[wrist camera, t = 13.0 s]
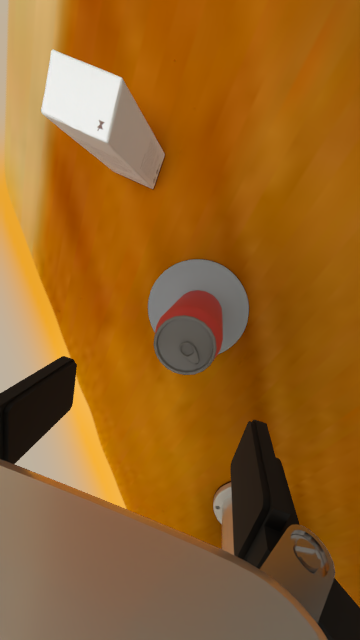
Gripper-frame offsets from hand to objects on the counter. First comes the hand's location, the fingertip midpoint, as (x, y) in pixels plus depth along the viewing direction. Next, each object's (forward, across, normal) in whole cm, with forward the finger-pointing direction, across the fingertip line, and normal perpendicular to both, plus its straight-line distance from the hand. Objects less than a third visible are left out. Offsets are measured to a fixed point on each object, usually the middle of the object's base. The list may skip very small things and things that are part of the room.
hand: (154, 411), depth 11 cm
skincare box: (+21, +12, -17) cm, 30 cm away
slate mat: (+21, 0, -1) cm, 21 cm away
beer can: (+20, 0, 0) cm, 20 cm away
